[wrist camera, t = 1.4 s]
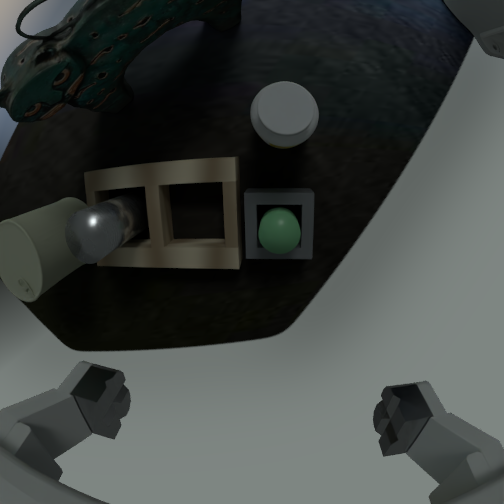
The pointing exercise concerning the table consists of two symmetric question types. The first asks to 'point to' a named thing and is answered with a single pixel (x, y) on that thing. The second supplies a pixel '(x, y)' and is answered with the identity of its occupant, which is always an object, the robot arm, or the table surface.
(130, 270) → the table surface
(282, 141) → the supplement bottle
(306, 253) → the button box
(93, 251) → the seated billet
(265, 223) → the button
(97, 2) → the green curved lump
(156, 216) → the rack
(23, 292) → the can
